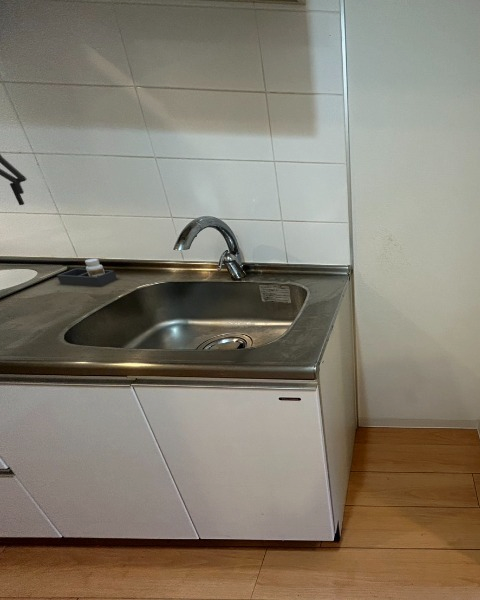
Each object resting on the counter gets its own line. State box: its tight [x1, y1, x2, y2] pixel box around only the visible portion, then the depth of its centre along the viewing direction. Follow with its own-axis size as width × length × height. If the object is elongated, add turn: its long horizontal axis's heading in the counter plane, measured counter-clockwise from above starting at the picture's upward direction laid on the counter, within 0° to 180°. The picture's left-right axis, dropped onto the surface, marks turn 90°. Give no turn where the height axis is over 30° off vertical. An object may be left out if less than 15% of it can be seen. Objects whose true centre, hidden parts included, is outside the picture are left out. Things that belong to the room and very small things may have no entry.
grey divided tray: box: [56, 267, 118, 288], centre depth 112 cm, size 7×14×4 cm, turn 90°
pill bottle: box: [84, 258, 105, 277], centre depth 111 cm, size 4×4×8 cm
